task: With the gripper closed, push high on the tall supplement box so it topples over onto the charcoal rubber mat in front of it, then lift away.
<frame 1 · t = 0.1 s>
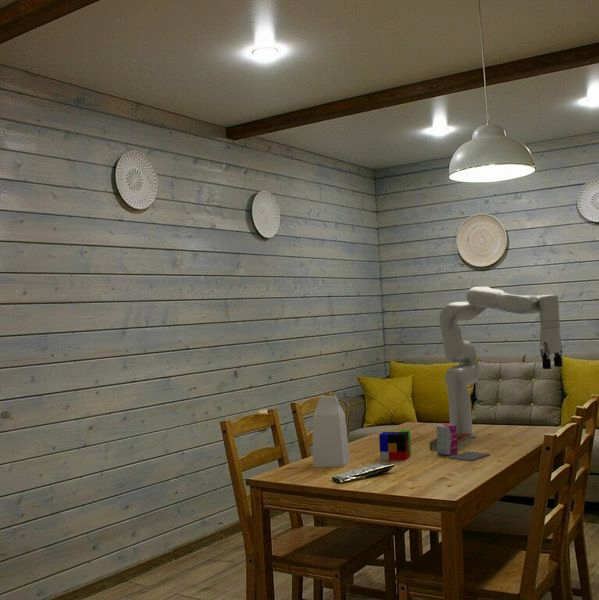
hand: (552, 367, 298), 31 cm above the table, fingers open, 9 cm apart
hardcover book: (451, 447, 309), on the table
milk: (331, 464, 287), on the table
puzzle toy: (396, 458, 291), on the table
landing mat: (469, 456, 284), on the table
supplement box: (447, 455, 292), on the table
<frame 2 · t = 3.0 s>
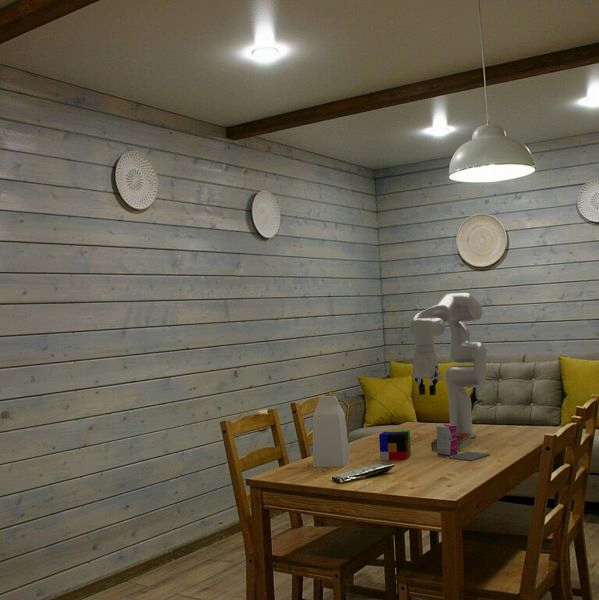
hand: (427, 394, 298), 23 cm above the table, fingers open, 4 cm apart
nothing on the table moved.
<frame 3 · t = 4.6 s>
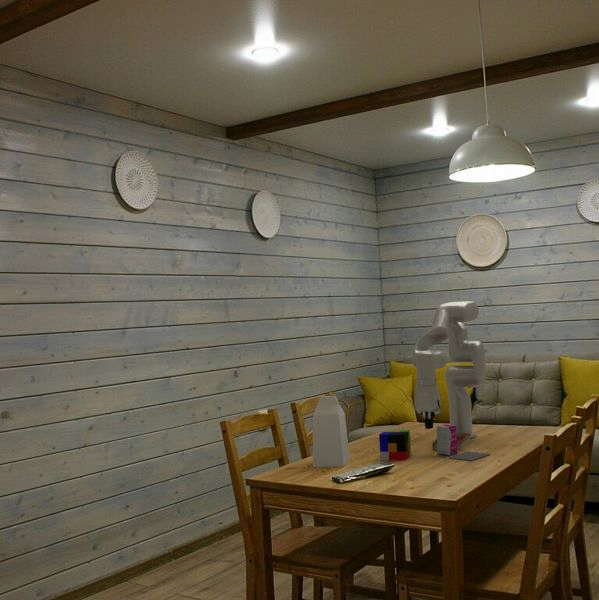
hand: (429, 428, 297), 10 cm above the table, fingers closed
nothing on the table moved.
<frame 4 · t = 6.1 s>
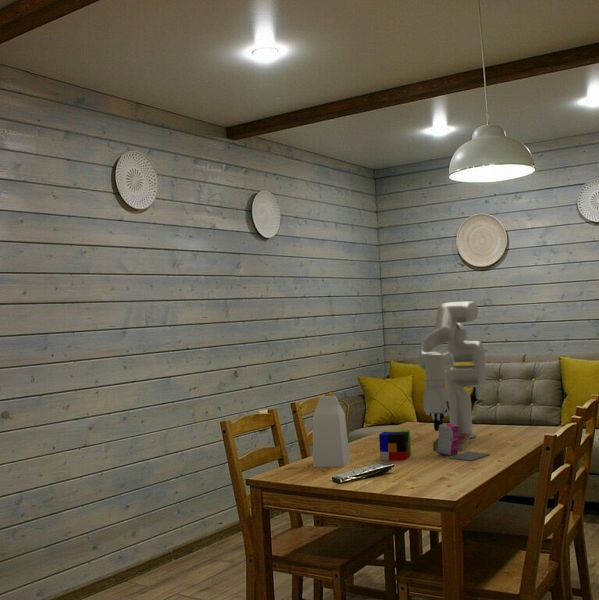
hand: (438, 430, 294), 9 cm above the table, fingers closed
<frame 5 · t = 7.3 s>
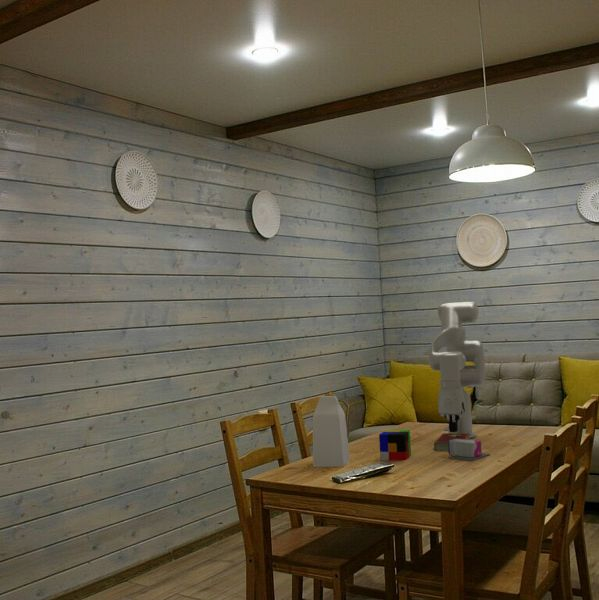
hand: (453, 431, 289), 9 cm above the table, fingers closed
supplement box: (452, 446, 290), point 3 cm above the table, touching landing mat
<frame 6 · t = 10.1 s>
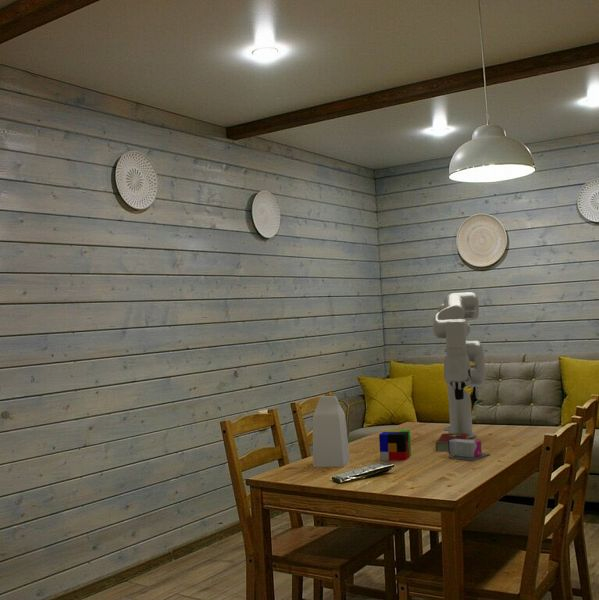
hand: (459, 399, 287), 22 cm above the table, fingers closed
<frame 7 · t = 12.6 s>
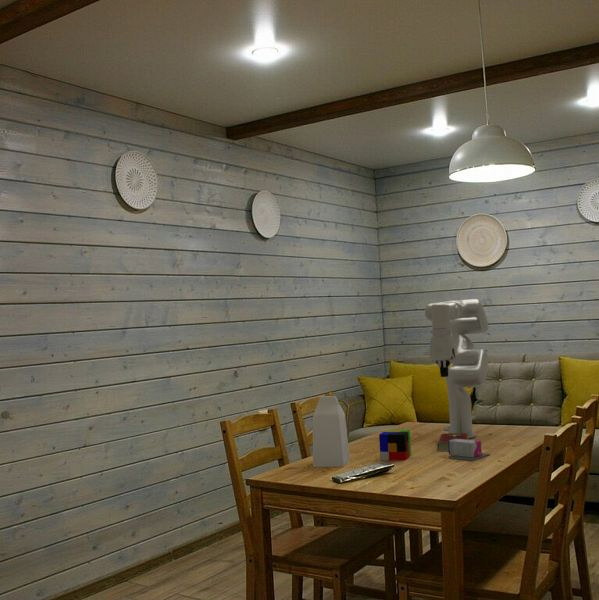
hand: (444, 376, 308), 29 cm above the table, fingers closed
at the end: supplement box tilted 89°; supplement box touching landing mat; the gripper is holding nothing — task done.
